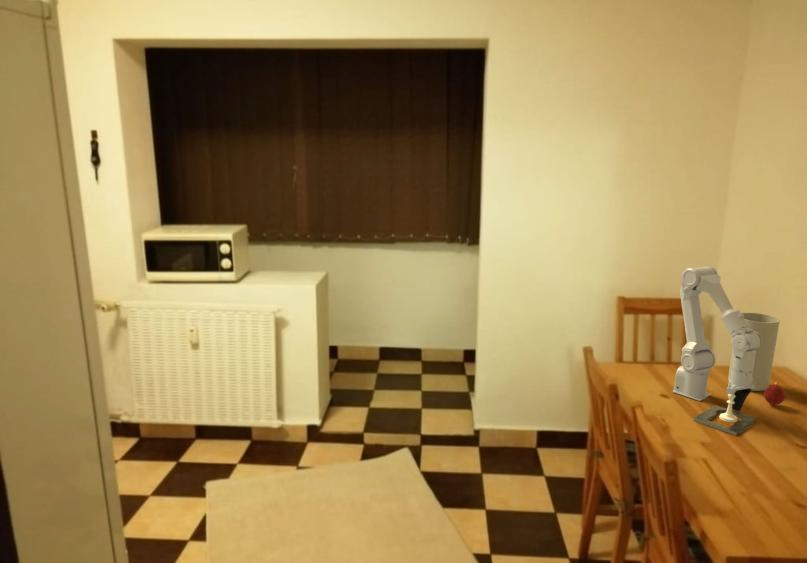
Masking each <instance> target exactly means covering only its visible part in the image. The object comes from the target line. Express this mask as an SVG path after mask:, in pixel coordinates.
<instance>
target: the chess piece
mask: <svg viewBox="0 0 807 563" xmlns="http://www.w3.org/2000/svg"><path fill="white" fill-rule="evenodd" d="M727 397H728V400H726V403H727V404H728V405H727V408H726V409H727V411H726V412H725V413H720V414H719V416H718V417H719V419H720V420H722V421H723V422H726V423H736V422H737V421H739V419H738V417H737V416H734V415H733V414H732V411H733V409H732V404H735V402H734V401H733V400H734V398H735V395H731V394H728V393H727Z"/></svg>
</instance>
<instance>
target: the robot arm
mask: <svg viewBox="0 0 807 563" xmlns="http://www.w3.org/2000/svg"><path fill="white" fill-rule="evenodd" d="M679 277H680V288H679V296H680V302H681V309H682V318H683V325H684V330H685V338H686V344H685V345H684V346H683V347H682V348H681V357H680V364H681V365H680V366H679V367H678V368H677V370H676V371H675V375H674V376H675V377H674V383H673V384H674V385H673V390H672V393H675V394H677V395H679V396H683V397H686V398H689V399H692V400H695V401H699V402H701V401H704V400H706V399H707V398H709V397H710V396H711V393H709V392H707V389H708V380H709V374H710V371H711V368H713V367H714V366H715V365H716V362H717V361H716V356H715V354H714V353H713V350H712V346H711V345H710V344H709V343H708V342H706V338H705V330H704V323H703V317H702V310H701V302H700V294H701V293H702V292H704V293H707V294H708V295H709V297H710V298H711V299H712V301H713V302H714V303H715V306H716V307H717V308H718V309H719V311H720V312H721V317H720V319H721V321H722V323H723V325H724V326H725V328H726V330H727V332H728V333H729V335H730V336H731V339H730V345H731V348H733V353H734V355H733V362H732V369H731V376H730V380H729V381H728V386H727V387H726V394H727V395H728V394H731V395H735V398H734V400H733V401H734V402H735V404H732V411H735V412H740V411H741V410H742V408H743V406H744V403H745V402H746V400H747V397H748V396H749V395H750V393H751V392H752V391H751V389H754V388H755V385H752V381H753V378H752V374H753V368H754V361H755V355H756V350H755V349H758V348H759V347H760V346H761V344H762V339H761V337H760V334H759V333H757V332H756V331H753V330H752V329H751V328H750V327H749V325H748V324H747V322H746V321H745V319H744V315H743V314H742V313H743V312H741V311H740V310H738V309H735V308H734V307H733V305H732V304H731V301H730V300H729V297H728V295H727V293H726V292H725V290H724V288H723V286H722V283H721V276H720V275H719V273H718V271H717V269H716V268H715V267H713V266H711V265H705V266H700V267H688V268H686V269H684V270H683V272H682V273H681V274H680V275H679ZM749 388H750V389H749Z"/></svg>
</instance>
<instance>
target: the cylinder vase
mask: <svg viewBox="0 0 807 563" xmlns="http://www.w3.org/2000/svg"><path fill="white" fill-rule="evenodd" d="M741 313H742V314H743V315H744V319H745V321H746V322H747V324H748V325H749V327H750V328H751V329H752V330H753V331H756V332H757V333H759V334H760V337H761V339H762V344H761V346H760V347H759V348H758V349H755V350H756V355H755V361H754V368H753V374H752V378H753V381H752V385H755V388H754V389H751V392H763V391H765V389H766V388H767V387H769V386H770V381H771V375H772V371H773V369H772V368H773V363H774V358H775V351H776V345H777V338H778V333H779V327H780V326H779V325H780V319H779V318H777V317H776V316H772V315H769V314H765V313H759V312H757V313H756V312H741ZM731 348H732V349H731V354H730V355H731V356H730V362H729V369H728V376H727V381H728V382H729V380H730V376H731V369H732V362H733V355H734V353H733V347H731ZM749 389H750V388H749Z"/></svg>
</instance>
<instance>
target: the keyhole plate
mask: <svg viewBox="0 0 807 563" xmlns="http://www.w3.org/2000/svg"><path fill="white" fill-rule="evenodd" d="M726 411H727V408H726V407H723V406H719V405H716V404H714V405H713V406H711V407H709V408H708V409H707V410H704V411H703V412H701V413H700V414H698V415H696V416H695V417H694V419H693V421H694V422H696V423H699V424H702V425H705V426H708V427H710V428H713V429H716V430H719V431H721V432H724V433H728V434H730V435H732V436H735V437H737V436H738V435H739V434H740V433H742V432H743V431H744V430H746V429H747V428H749V427H750V426H751V425H753V424H754V423H755V422H756V420H757V418H756V417H753V416H750V415H747V414H744V413H741V412H739V411H736V410H732V414H733V415H734V416H736V417H737V418H739V419H741V420H738V421H737V422H733V424H732V425H730V426H725V425H722V424H720V423H716V422H714V421H712V419H713V418H716V416H717V414H719V413H720V414H722V413H725V412H726Z"/></svg>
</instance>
